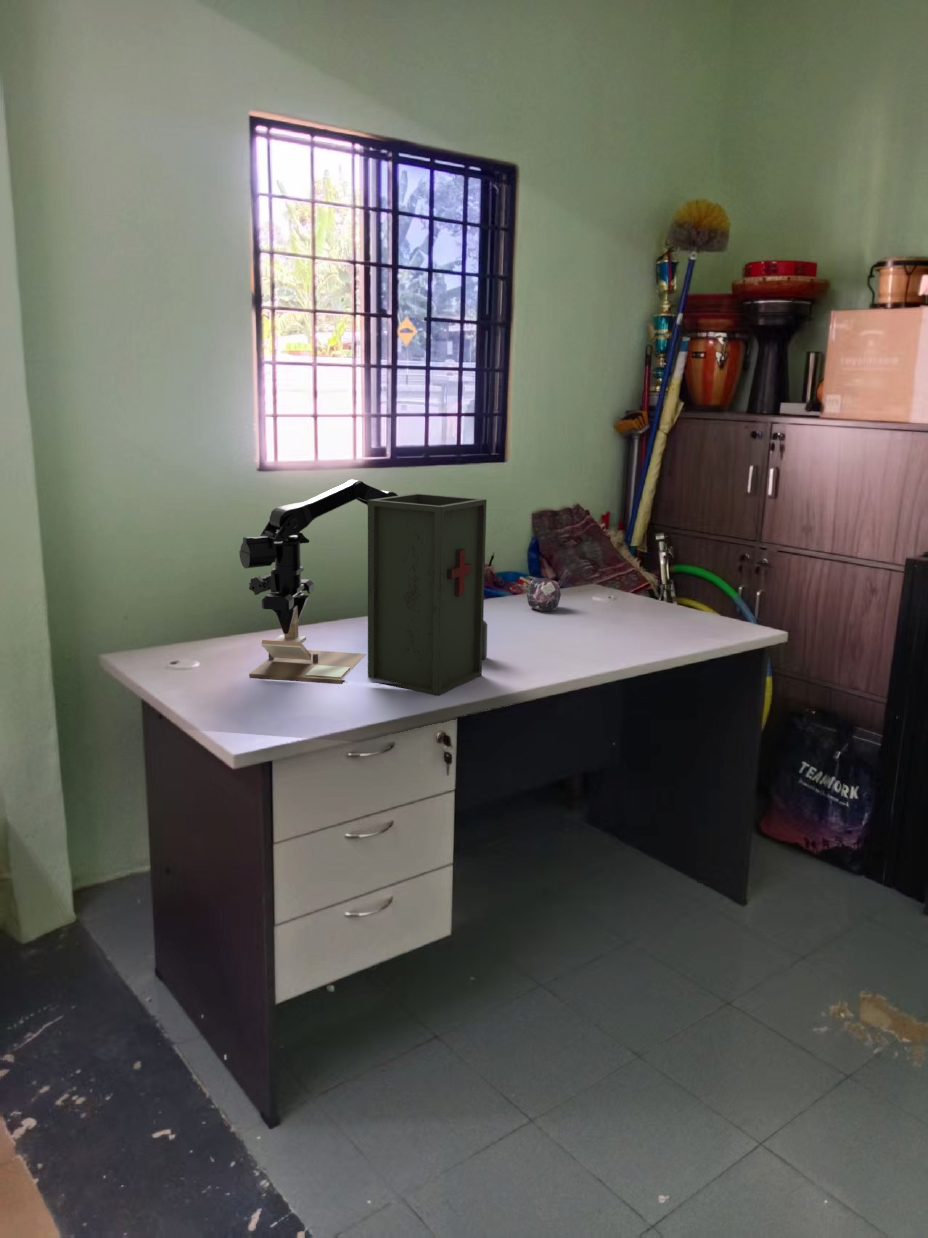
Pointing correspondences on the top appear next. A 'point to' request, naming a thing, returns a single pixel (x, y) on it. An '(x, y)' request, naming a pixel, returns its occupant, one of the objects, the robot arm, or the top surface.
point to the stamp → (292, 632)
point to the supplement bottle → (484, 640)
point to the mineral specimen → (543, 594)
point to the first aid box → (426, 590)
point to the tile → (286, 649)
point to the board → (309, 667)
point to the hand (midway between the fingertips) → (289, 630)
